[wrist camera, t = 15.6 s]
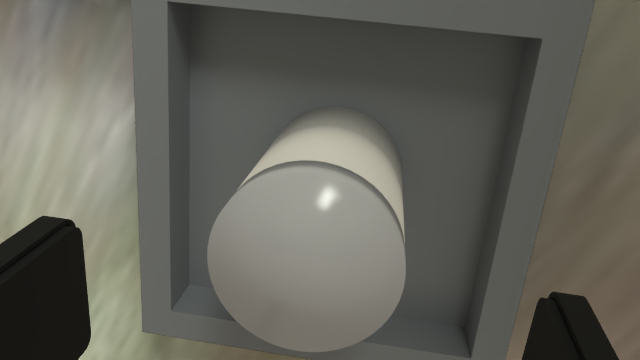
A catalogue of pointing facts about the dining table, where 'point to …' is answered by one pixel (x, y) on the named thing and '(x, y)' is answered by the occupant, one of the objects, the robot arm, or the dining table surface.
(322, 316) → the cylinder
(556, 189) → the dining table surface
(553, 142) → the tray
